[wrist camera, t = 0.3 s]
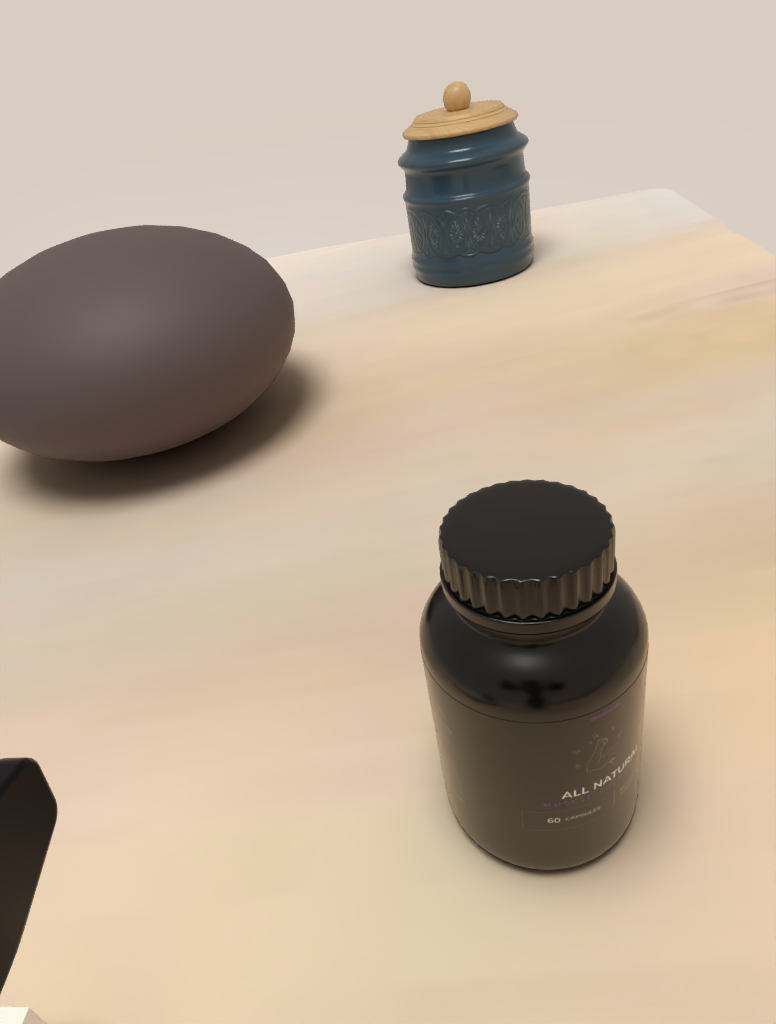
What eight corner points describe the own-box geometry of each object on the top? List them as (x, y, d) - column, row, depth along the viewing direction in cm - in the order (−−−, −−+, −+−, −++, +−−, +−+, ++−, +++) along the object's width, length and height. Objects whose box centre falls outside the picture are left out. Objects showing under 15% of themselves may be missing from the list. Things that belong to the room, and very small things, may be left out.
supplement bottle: (619, 909, 22) (629, 639, 15) (420, 840, 25) (354, 588, 18) (653, 734, 27) (671, 469, 20) (482, 693, 30) (448, 450, 23)
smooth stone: (270, 338, 70) (225, 176, 62) (361, 436, 50) (313, 217, 42) (13, 418, 64) (-75, 251, 56) (3, 565, 45) (-136, 341, 36)
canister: (437, 252, 85) (415, 82, 75) (546, 246, 79) (538, 62, 69) (397, 291, 75) (366, 103, 65) (518, 287, 70) (505, 81, 60)
